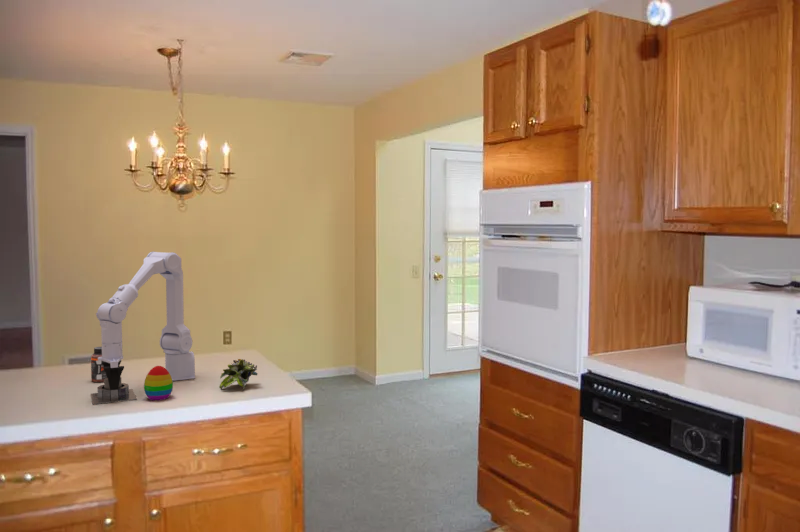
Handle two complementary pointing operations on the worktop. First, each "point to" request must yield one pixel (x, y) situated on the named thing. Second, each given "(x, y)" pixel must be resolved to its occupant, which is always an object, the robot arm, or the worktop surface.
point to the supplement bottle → (97, 366)
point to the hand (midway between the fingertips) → (113, 386)
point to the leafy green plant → (238, 373)
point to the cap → (106, 384)
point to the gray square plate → (113, 394)
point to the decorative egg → (158, 384)
